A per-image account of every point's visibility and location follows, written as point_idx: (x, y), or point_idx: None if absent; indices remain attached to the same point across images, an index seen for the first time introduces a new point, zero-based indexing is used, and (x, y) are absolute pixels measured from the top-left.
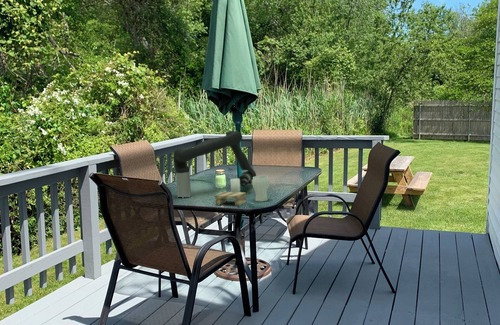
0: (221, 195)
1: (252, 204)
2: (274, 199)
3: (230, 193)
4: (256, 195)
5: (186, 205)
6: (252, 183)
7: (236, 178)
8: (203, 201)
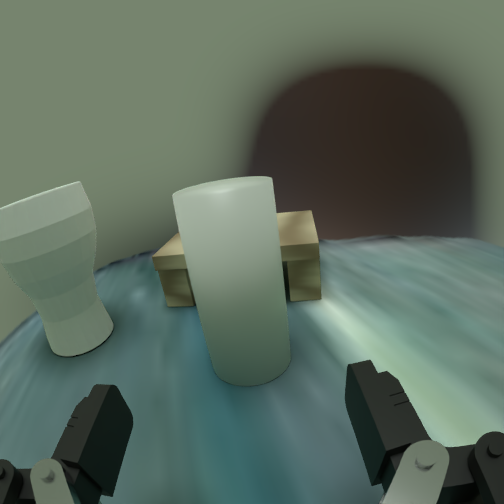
0: (279, 215)
1: (140, 283)
2: (23, 346)
3: None
4: (97, 295)
5: (433, 237)
6: (93, 220)
7: (209, 192)
8: (430, 277)
